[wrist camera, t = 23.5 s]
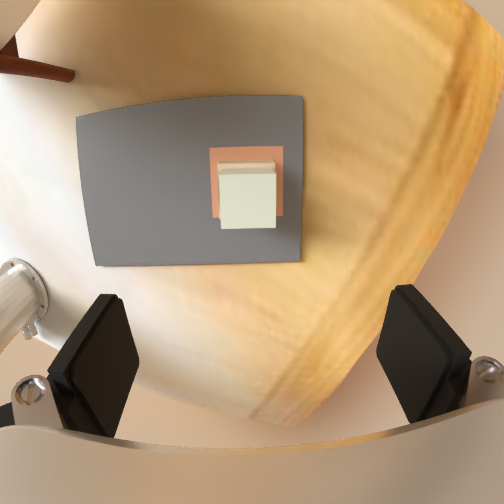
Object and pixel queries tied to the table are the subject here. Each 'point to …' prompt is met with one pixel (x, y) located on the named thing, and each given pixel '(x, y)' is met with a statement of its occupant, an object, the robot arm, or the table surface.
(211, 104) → the board
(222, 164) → the maple block
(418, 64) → the table surface
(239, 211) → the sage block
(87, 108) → the table surface
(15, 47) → the plant pot with stand
